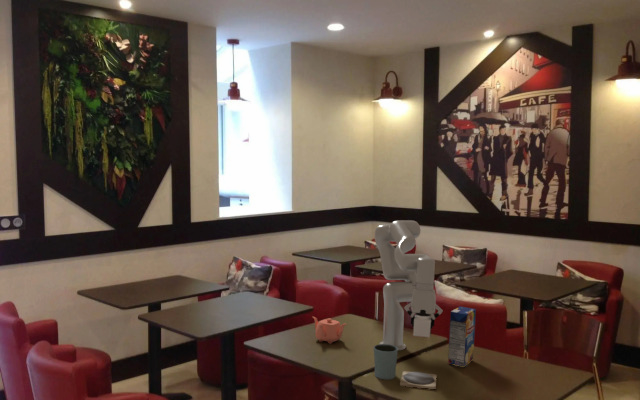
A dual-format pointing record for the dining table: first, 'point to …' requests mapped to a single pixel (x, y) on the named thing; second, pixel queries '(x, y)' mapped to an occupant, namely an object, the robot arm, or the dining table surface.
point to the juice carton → (461, 336)
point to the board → (418, 380)
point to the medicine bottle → (422, 324)
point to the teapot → (328, 330)
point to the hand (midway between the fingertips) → (422, 326)
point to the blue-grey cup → (385, 361)
